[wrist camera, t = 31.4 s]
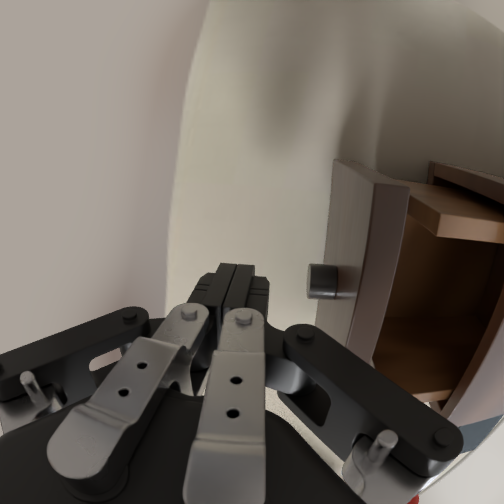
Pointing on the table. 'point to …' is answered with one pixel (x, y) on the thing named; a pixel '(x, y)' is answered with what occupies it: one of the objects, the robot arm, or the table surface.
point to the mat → (477, 432)
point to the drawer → (408, 276)
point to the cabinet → (497, 332)
